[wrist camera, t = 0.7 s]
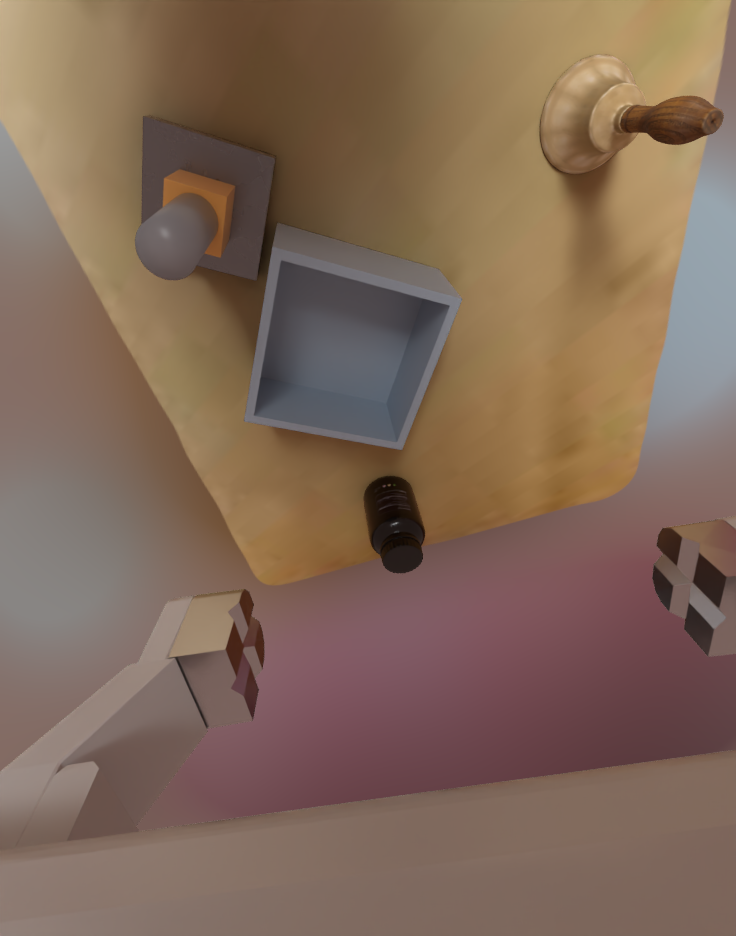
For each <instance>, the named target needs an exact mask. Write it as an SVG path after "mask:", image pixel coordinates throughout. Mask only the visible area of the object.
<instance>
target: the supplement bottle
mask: <svg viewBox="0 0 736 936" xmlns="http://www.w3.org/2000/svg"><path fill="white" fill-rule="evenodd" d="M364 507H365V513H366V519H367V525H368V531H369V537H370V542H371V545H372V547H373V549H374V550H375V551H376V552H377V553H378V554H380V556H381V558H382V562H383V565H384V566H385V568H386V569H387V570H389V571H390V572H393V573H406V572H409V571H412V570H413V569H415V568H416V567H418V566H419V565H420V564H421V562H422V559H423V553H422V549H421V545H422V544H423V541H424V538H425V529H424V526H423V522H422V519H421V516H420V512H419V509H418V505H417V502H416V499H415V495H414V492H413V489H412V487H411V485H410V484H409V483H408V482H407V481H406V480H404V479H402V478H400V477H395V476H386V477H382V478H379V479H377V480H375V481H374V482H372V483H371V484H370V485H369V486H368V487H367V489H366V491H365V493H364Z"/></svg>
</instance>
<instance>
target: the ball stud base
mask: <svg viewBox="0 0 736 936" xmlns="http://www.w3.org/2000/svg"><path fill="white" fill-rule="evenodd" d="M275 159H276V156H274V155H271V154H268V153H265V152H262V151H259V150H256V149H253V148H249V147H246V146H243V145H240V144H237V143H234V142H231V141H228V140H225V139H222V138H219V137H215V136H212V135H209V134H206V133H203V132H200V131H197V130H194V129H191V128H188V127H185V126H181V125H178V124H175V123H172V122H169V121H166V120H163V119H160V118H157V117H154V116H151V115H148V116H143V161H142V223H144V222H145V221H146V220H147V219H149V218H150V217H151V216H152V215H154V214H155V213H156V212H158V211H159V210H160V209H161V208H163V188H164V178H165V177H167V176H169V175H170V174H172V173H174V172H176V171H177V170H179V169H181V170H184V171H188V172H191V173H194V174H197V175H201V176H204V177H207V178H211V179H214V180H217V181H221V182H224V183H227V184H231V185H234V186H235V193H234V202H233V211H232V220H231V229H230V237H229V242H228V244H227V246H226V248H225V250H224V252H223V254H222V256H221V258H220V257H216V256H212V255H208V254H204V255H203V256H202V258H201V259H200V261H199V263H198V264H197V266H200V267H204V268H208V269H212V270H216V271H220V272H224V273H227V274H231V275H235V276H239V277H243V278H247V279H251V280H255V281H257V277H258V271H259V265H260V258H261V252H262V245H263V238H264V232H265V225H266V219H267V212H268V206H269V199H270V192H271V186H272V179H273V173H274V166H275ZM141 225H142V224H141Z"/></svg>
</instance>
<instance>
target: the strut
mask: <svg viewBox="0 0 736 936" xmlns="http://www.w3.org/2000/svg"><path fill="white" fill-rule="evenodd" d="M234 193H235V186H234V185H231V184H227V183H224V182H221V181H217V180H214V179H211V178H207V177H204V176H201V175H197V174H194V173H191V172H188V171H184V170H181V169H179V170H177V171H176V172H174V173H172V174H170V175H169V176H167V177H165V178H164V188H163V208H161V209H160V210H159V211H158V212H156V213H155V214H154V215H152V216H151V217H150V218H149V219H147V220H146V221H145V222H144V223H142V225H141V226H140V227H139V229H138V231H137V233H136V237H135V246H136V251H137V254H138V256H139V258H140V260H141V262H142V263H143V265H144V266H145V267H146V268H147V269H148V270H149V271H150V272H152V273H153V274H154V275H156V276H158V277H160V278H163V279H166V280H180V279H183V278H185V277H187V276H188V275H190V274H191V273H192V272H193V270H194V269H195V267H196V266H197V264H198V263H199V261H200V259H201V258H202V256H203V255H204V254H208V255H212V256H216V257H220V258H221V256H222V254H223V252H224V250H225V248H226V246H227V244H228V242H229V237H230V229H231V220H232V211H233V202H234Z"/></svg>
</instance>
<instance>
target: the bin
mask: <svg viewBox="0 0 736 936" xmlns="http://www.w3.org/2000/svg"><path fill="white" fill-rule="evenodd" d="M461 301H462V298H461V297H460V295H459V294H458V293H457V292H456V290H455V289H454V288H453V287H452V285H451V284H450V283H449V281H448V280H447V279H446V278H445V276H444V275H443V274H442V273H441V271H440V270H439V269H437V268H433V267H430V266H426V265H423V264H419V263H416V262H413V261H409V260H406V259H402V258H399V257H395V256H392V255H388V254H385V253H381V252H378V251H375V250H371V249H368V248H364V247H361V246H357V245H354V244H350V243H347V242H343V241H340V240H337V239H333V238H330V237H326V236H323V235H319V234H316V233H312V232H309V231H305V230H302V229H299V228H295V227H292V226H288V225H285V224H281V223H278V222H277V227H276V232H275V237H274V242H273V247H272V253H271V259H270V265H269V271H268V277H267V283H266V290H265V296H264V302H263V308H262V314H261V320H260V326H259V332H258V339H257V345H256V351H255V357H254V363H253V369H252V375H251V381H250V388H249V394H248V400H247V406H246V412H245V418H244V421H245V422H250V423H256V424H261V425H267V426H272V427H278V428H283V429H289V430H294V431H300V432H305V433H311V434H316V435H321V436H327V437H332V438H338V439H343V440H349V441H354V442H360V443H365V444H371V445H376V446H382V447H387V448H393V449H398V450H402V449H403V446H404V444H405V441H406V439H407V436H408V434H409V431H410V429H411V426H412V424H413V421H414V419H415V416H416V414H417V411H418V409H419V406H420V404H421V401H422V399H423V396H424V394H425V391H426V389H427V386H428V384H429V381H430V379H431V376H432V374H433V371H434V369H435V366H436V364H437V361H438V359H439V356H440V354H441V351H442V349H443V346H444V344H445V341H446V339H447V336H448V334H449V331H450V329H451V326H452V324H453V321H454V319H455V316H456V314H457V311H458V309H459V306H460V304H461Z"/></svg>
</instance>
